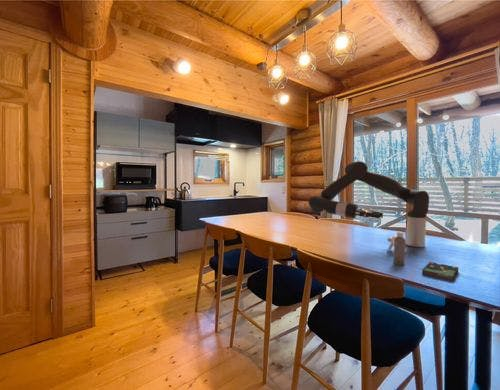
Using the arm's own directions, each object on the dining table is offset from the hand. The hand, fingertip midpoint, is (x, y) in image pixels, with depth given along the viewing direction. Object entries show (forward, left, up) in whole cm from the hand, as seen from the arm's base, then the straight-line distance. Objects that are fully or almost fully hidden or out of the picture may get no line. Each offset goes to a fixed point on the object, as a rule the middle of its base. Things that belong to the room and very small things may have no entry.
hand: (381, 215), depth 120 cm
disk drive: (+20, +13, -23) cm, 33 cm away
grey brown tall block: (+6, +5, -22) cm, 24 cm away
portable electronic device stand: (-10, +19, -23) cm, 31 cm away
